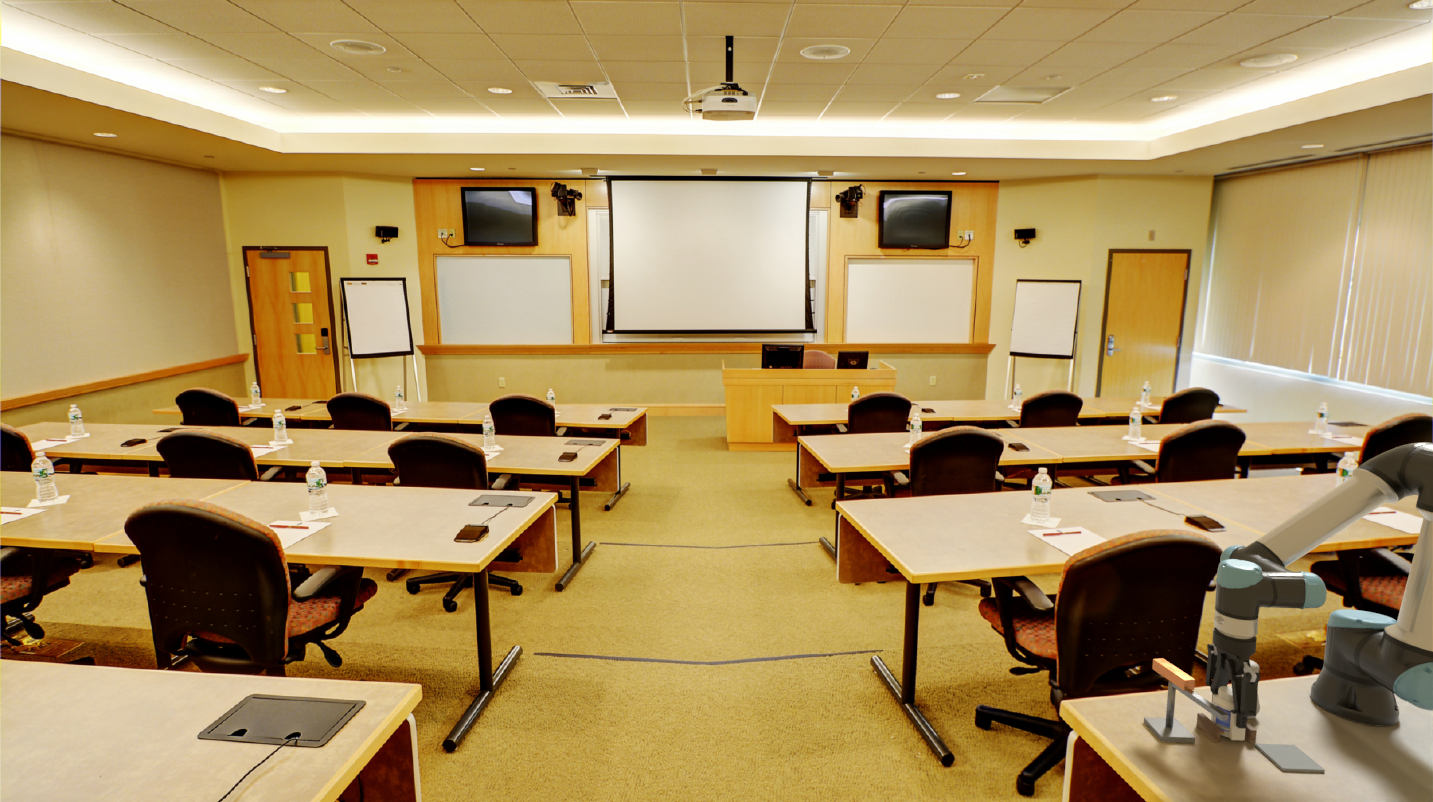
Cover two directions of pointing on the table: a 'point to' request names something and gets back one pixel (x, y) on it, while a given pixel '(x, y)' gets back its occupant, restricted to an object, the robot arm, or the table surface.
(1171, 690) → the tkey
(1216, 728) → the cradle
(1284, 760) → the pad
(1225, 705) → the pill bottle
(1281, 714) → the table surface
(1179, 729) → the grey stand base plate
